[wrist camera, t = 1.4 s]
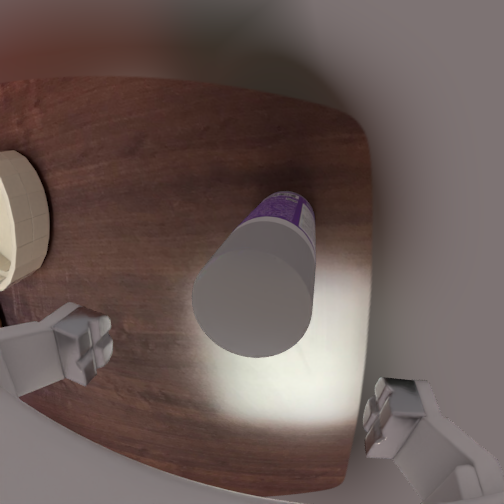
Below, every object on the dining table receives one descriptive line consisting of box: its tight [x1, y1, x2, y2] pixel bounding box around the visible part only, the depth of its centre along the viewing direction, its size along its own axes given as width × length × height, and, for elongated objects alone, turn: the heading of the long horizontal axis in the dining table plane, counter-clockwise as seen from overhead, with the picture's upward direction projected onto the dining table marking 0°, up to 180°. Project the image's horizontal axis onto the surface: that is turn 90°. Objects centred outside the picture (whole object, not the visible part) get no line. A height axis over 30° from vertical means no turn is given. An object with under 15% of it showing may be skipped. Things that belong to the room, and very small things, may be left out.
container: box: [192, 191, 316, 358], centre depth 18 cm, size 5×5×15 cm
